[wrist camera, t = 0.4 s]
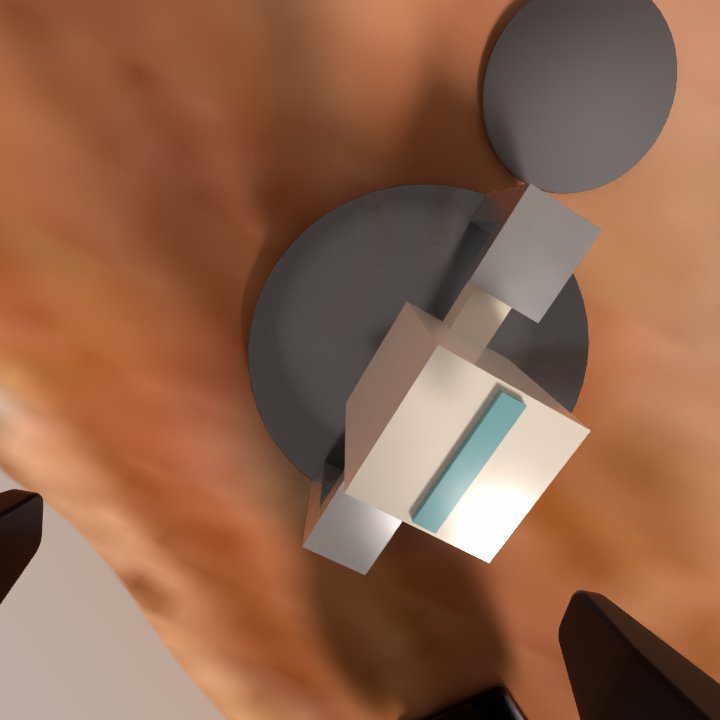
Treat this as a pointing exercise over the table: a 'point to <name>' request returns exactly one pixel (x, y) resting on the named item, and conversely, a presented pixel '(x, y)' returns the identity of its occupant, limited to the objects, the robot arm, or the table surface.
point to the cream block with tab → (454, 428)
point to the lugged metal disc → (381, 308)
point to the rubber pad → (578, 90)
